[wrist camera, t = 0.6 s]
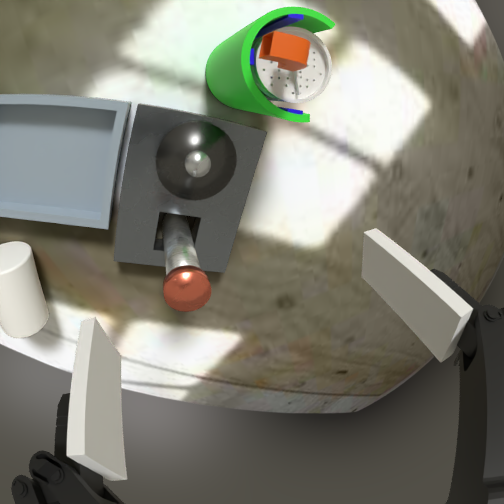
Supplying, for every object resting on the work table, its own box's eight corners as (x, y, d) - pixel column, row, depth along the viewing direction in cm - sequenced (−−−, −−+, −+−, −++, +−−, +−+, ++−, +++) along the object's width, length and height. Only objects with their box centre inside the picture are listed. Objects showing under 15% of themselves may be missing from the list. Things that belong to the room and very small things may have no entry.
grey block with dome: (116, 248, 35) (110, 278, 30) (140, 103, 28) (135, 104, 22) (219, 260, 41) (231, 289, 35) (258, 128, 33) (279, 136, 28)
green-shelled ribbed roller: (274, 109, 33) (370, 132, 18) (206, 111, 31) (255, 130, 16) (274, 38, 28) (373, 7, 13) (205, 36, 26) (255, -18, 11)
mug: (39, 239, 31) (18, 273, 25) (54, 301, 36) (42, 340, 29) (-27, 243, 27) (-52, 274, 21) (-8, 300, 32) (-25, 336, 25)
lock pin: (156, 235, 36) (161, 309, 24) (161, 205, 34) (167, 270, 23) (187, 239, 38) (206, 312, 26) (193, 210, 36) (216, 275, 24)
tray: (-12, 204, 26) (-22, 214, 24) (-4, 94, 20) (-16, 95, 18) (111, 218, 33) (107, 229, 31) (131, 102, 27) (128, 102, 25)
